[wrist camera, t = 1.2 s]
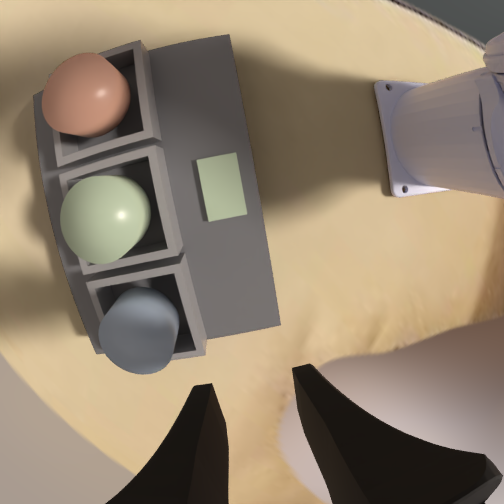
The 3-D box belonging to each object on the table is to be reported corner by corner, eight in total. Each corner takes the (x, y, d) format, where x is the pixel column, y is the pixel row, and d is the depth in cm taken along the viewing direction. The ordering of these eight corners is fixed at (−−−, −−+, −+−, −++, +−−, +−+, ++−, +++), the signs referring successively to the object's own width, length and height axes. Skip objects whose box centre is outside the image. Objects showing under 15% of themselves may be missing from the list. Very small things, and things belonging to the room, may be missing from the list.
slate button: (168, 280, 14) (160, 300, 12) (187, 343, 15) (183, 369, 13) (104, 292, 14) (87, 312, 12) (126, 351, 15) (115, 377, 13)
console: (228, 50, 16) (230, 18, 11) (274, 307, 20) (287, 342, 16) (52, 101, 15) (15, 89, 11) (107, 335, 20) (86, 371, 15)
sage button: (142, 166, 13) (127, 165, 11) (158, 241, 14) (147, 255, 12) (76, 185, 13) (52, 189, 10) (93, 256, 14) (73, 271, 11)
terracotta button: (127, 59, 11) (111, 41, 9) (135, 125, 12) (119, 117, 10) (63, 82, 11) (40, 71, 9) (69, 147, 12) (45, 144, 10)
